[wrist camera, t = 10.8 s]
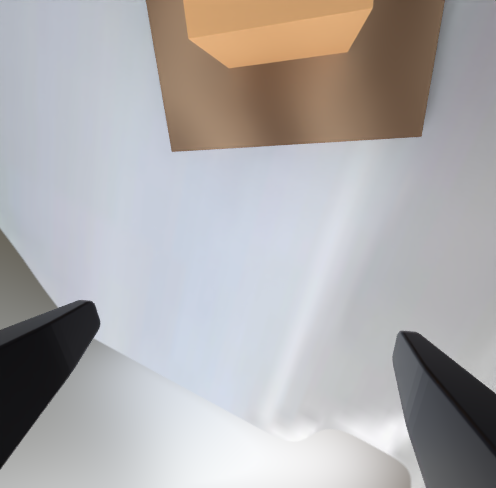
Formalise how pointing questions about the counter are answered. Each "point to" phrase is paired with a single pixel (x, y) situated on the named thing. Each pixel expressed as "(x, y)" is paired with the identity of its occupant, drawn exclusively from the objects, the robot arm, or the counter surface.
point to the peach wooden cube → (273, 28)
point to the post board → (300, 84)
